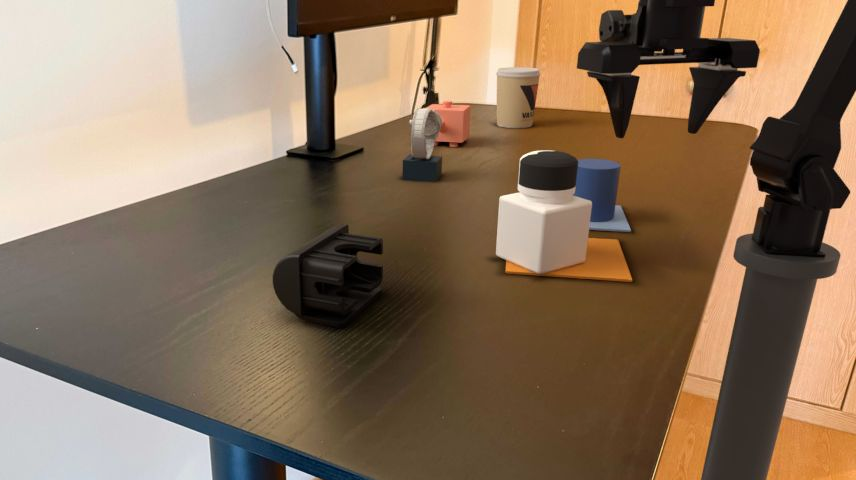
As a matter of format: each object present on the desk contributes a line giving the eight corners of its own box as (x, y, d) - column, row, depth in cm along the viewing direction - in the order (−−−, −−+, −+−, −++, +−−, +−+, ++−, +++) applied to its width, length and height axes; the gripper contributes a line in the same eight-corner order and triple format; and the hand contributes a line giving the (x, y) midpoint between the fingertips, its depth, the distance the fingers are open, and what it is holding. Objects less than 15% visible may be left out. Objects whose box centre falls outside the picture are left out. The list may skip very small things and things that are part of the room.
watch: (443, 172, 119) (446, 105, 115) (433, 184, 112) (435, 113, 108) (411, 170, 121) (412, 104, 116) (399, 181, 114) (400, 112, 109)
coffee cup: (526, 130, 153) (531, 72, 148) (486, 126, 157) (489, 70, 153) (541, 123, 160) (546, 68, 155) (502, 120, 164) (506, 66, 160)
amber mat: (617, 241, 86) (618, 239, 86) (632, 282, 74) (632, 279, 74) (508, 235, 89) (508, 233, 88) (505, 273, 77) (505, 270, 77)
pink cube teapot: (418, 149, 136) (419, 105, 133) (433, 137, 147) (434, 96, 144) (458, 151, 134) (460, 106, 131) (470, 139, 144) (472, 97, 141)
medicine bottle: (586, 263, 79) (599, 155, 74) (538, 276, 75) (549, 164, 71) (540, 244, 84) (549, 143, 80) (494, 256, 81) (500, 151, 76)
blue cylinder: (611, 210, 97) (618, 159, 94) (616, 223, 92) (623, 169, 89) (565, 207, 98) (571, 157, 96) (568, 220, 93) (573, 168, 90)
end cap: (323, 280, 75) (321, 220, 73) (384, 291, 73) (385, 228, 70) (273, 317, 67) (269, 250, 65) (340, 331, 64) (338, 262, 62)
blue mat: (620, 207, 99) (620, 205, 99) (630, 232, 89) (631, 230, 89) (539, 203, 101) (539, 201, 101) (540, 227, 91) (540, 225, 91)
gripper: (704, -16, 83) (682, 119, 89) (559, -14, 79) (546, 127, 85) (777, -16, 73) (747, 136, 79) (615, -14, 69) (596, 145, 75)
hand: (656, 135), depth 80 cm, fingers open, 9 cm apart
